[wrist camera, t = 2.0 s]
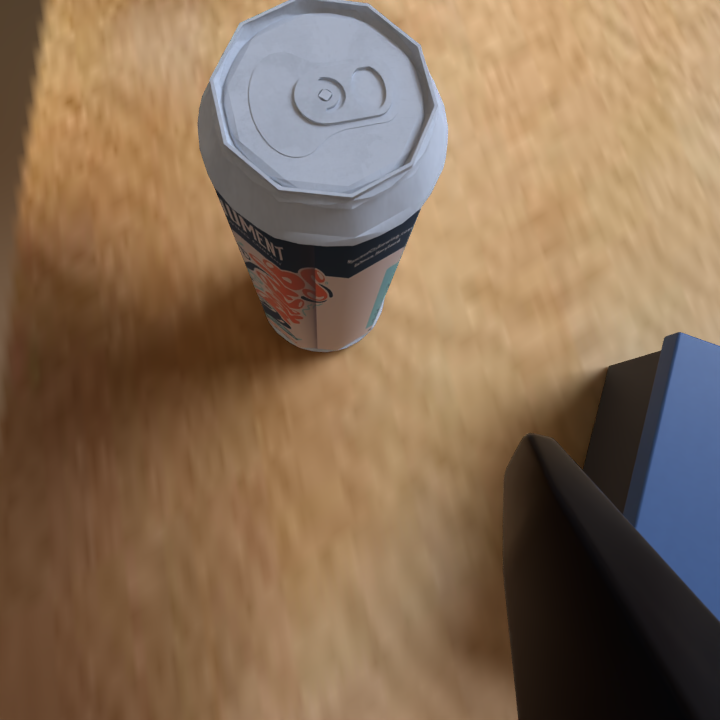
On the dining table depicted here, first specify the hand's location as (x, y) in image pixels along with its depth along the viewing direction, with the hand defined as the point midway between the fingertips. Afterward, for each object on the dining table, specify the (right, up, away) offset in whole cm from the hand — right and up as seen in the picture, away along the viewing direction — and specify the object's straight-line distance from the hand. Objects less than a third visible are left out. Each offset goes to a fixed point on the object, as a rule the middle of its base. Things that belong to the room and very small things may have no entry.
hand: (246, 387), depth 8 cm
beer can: (0, +3, +13) cm, 13 cm away
